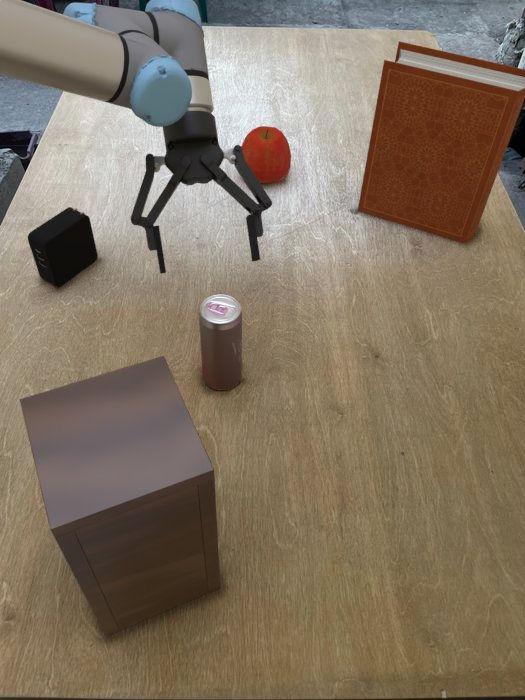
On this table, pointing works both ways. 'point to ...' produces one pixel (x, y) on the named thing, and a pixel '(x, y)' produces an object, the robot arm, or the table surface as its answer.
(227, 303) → the beverage can
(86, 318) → the table surface
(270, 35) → the table surface
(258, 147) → the apple
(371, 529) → the table surface
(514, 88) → the book
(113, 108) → the table surface
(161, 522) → the stand
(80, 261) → the electronic device
